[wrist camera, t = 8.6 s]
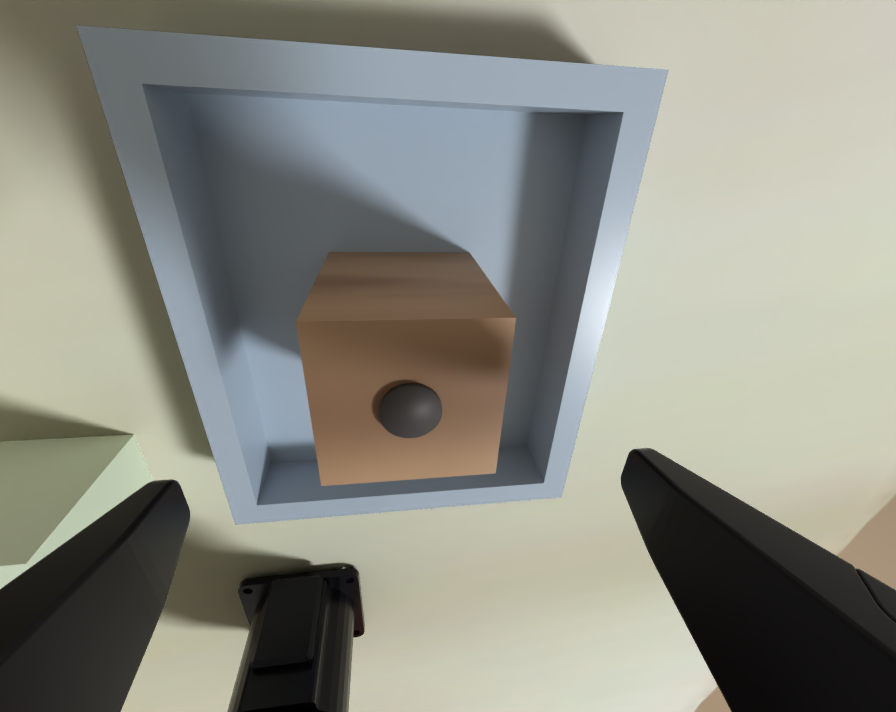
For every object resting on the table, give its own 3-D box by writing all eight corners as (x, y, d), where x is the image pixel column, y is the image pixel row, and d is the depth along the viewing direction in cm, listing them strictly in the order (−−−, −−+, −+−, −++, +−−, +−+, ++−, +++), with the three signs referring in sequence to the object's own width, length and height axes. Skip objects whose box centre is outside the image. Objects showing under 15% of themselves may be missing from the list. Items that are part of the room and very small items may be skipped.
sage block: (168, 513, 20) (87, 657, 14) (53, 522, 19) (-79, 677, 13) (134, 433, 17) (21, 570, 12) (1, 440, 16) (-185, 589, 11)
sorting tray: (539, 452, 21) (561, 497, 18) (255, 470, 19) (235, 524, 16) (612, 82, 13) (668, 69, 11) (147, 50, 11) (75, 24, 9)
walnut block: (462, 369, 17) (497, 478, 12) (341, 374, 16) (320, 491, 11) (469, 252, 15) (518, 321, 9) (329, 251, 14) (293, 325, 9)
